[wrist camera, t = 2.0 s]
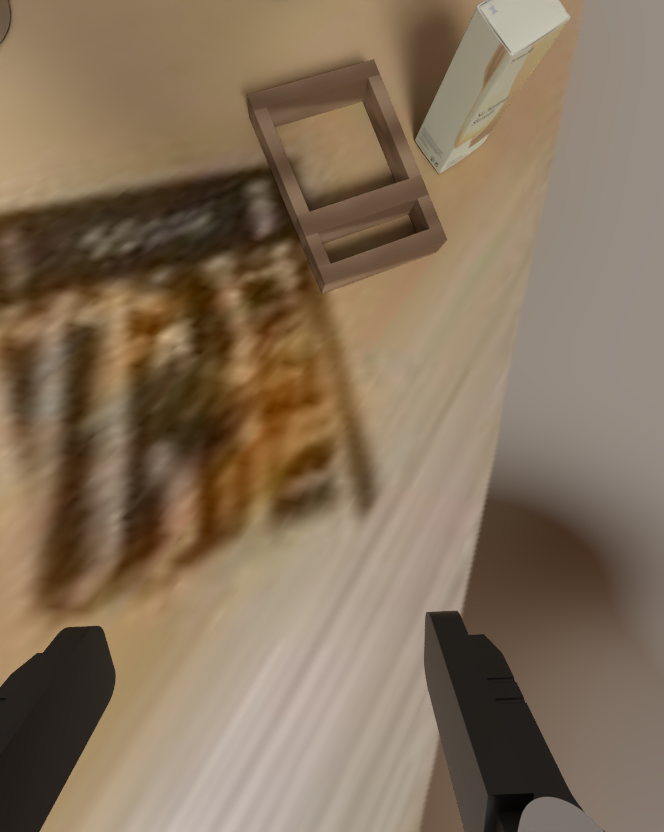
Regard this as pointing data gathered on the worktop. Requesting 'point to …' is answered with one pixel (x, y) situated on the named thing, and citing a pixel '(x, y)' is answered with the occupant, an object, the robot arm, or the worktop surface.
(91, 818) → the worktop surface
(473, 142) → the skincare box
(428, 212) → the slot holder
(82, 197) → the worktop surface
